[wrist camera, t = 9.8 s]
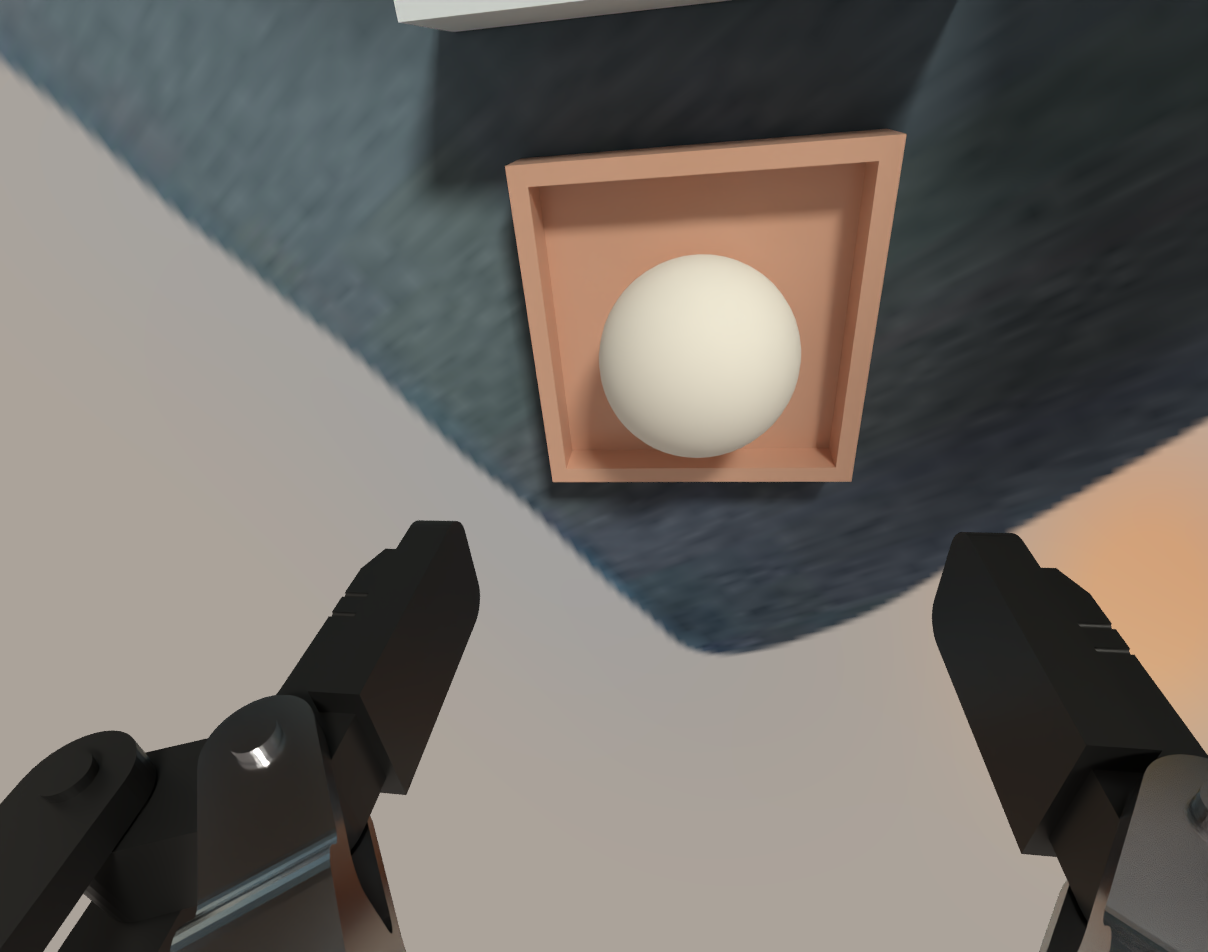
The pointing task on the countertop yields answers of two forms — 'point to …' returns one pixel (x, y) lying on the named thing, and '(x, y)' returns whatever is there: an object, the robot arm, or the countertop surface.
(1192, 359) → the countertop surface
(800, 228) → the dish
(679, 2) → the wall
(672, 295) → the ball
